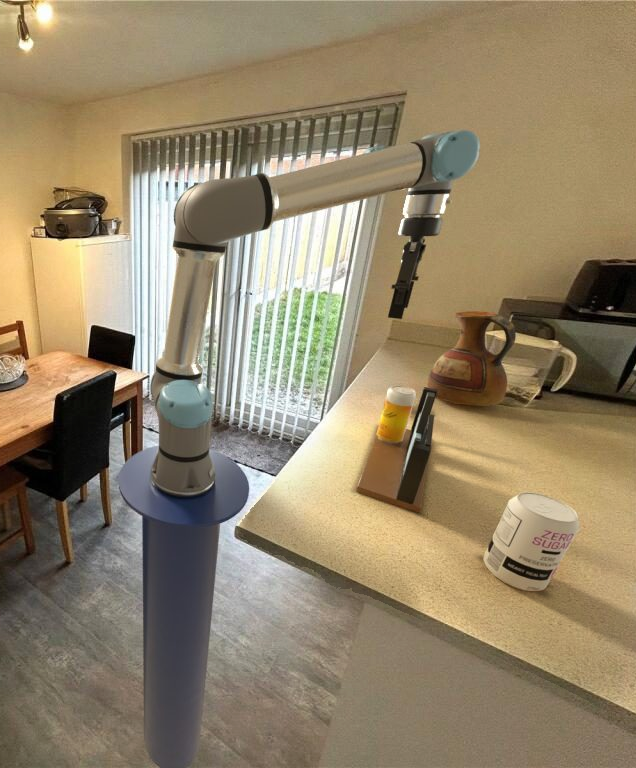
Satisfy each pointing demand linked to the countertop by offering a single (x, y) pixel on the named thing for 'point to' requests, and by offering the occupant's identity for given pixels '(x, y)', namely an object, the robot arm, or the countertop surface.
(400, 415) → the yellow drink can
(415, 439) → the black slab
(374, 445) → the brown base with upright
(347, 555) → the countertop surface
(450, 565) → the countertop surface
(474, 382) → the ceramic pitcher
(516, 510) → the supplement can
